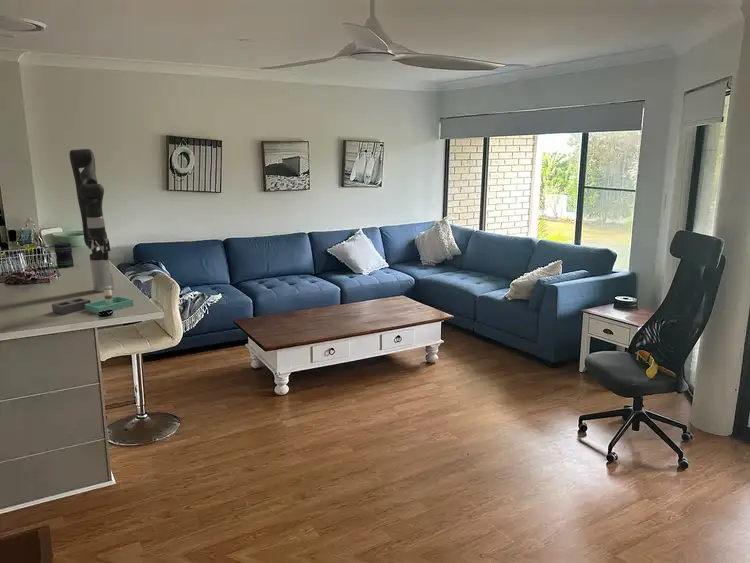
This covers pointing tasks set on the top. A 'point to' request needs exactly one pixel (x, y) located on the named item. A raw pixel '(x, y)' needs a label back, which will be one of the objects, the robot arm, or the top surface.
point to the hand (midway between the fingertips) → (100, 258)
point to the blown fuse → (108, 295)
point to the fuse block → (70, 306)
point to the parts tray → (101, 305)
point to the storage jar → (64, 255)
